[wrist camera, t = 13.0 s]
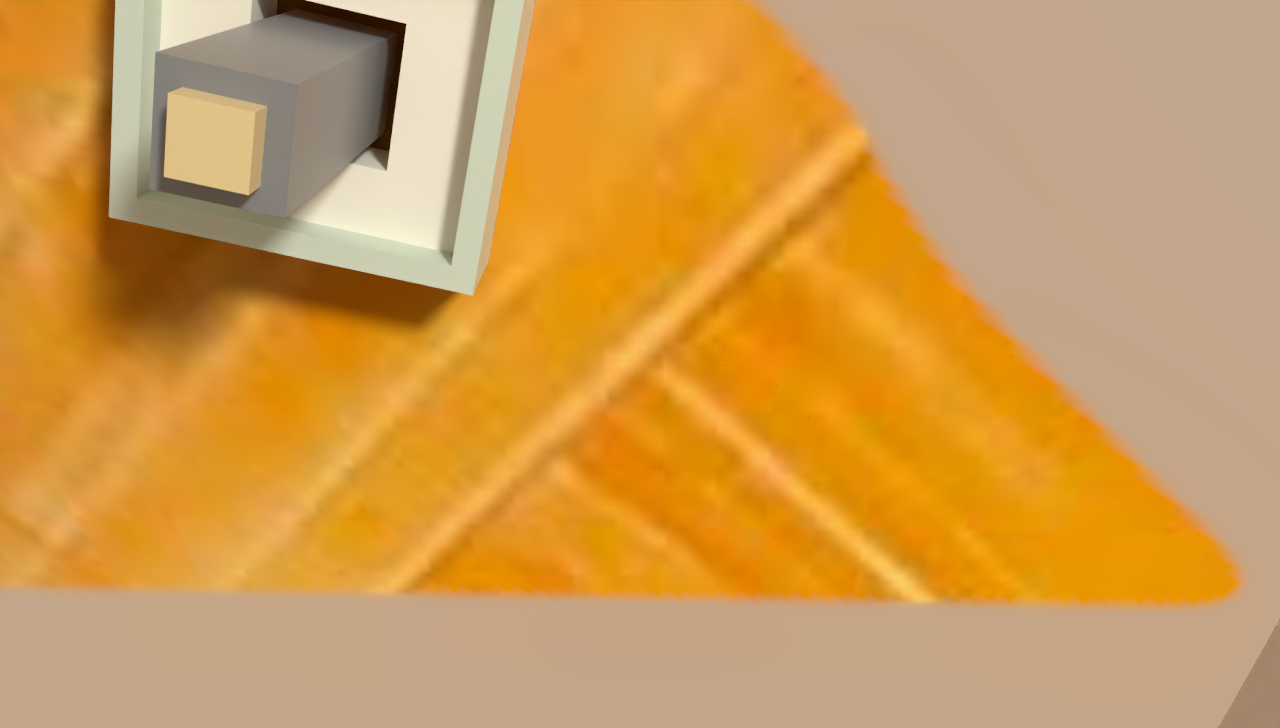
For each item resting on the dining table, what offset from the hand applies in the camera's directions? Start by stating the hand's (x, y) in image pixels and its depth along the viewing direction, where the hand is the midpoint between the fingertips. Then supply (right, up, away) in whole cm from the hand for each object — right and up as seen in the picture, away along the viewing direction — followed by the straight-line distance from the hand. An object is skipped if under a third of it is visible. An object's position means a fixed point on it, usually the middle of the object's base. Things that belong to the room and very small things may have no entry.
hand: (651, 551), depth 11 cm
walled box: (-12, +14, +32) cm, 37 cm away
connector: (-12, +14, +32) cm, 37 cm away
